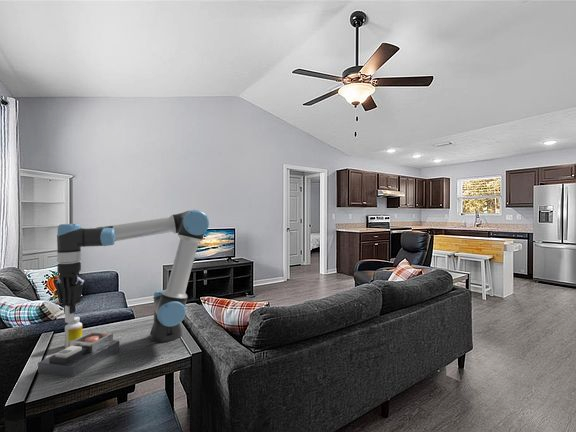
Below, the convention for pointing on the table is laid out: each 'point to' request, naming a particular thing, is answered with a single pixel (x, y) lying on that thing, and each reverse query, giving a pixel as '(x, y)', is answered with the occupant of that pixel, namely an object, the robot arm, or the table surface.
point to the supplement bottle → (73, 331)
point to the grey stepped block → (80, 356)
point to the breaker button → (92, 339)
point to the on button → (68, 351)
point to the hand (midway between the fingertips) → (69, 321)
